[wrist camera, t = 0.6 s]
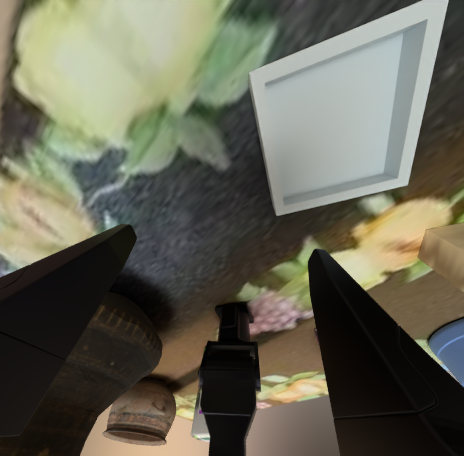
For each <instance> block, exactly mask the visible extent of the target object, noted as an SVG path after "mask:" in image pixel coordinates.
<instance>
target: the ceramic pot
mask: <svg viewBox="0 0 464 456" xmlns="http://www.w3.org/2000/svg"><path fill="white" fill-rule="evenodd" d="M161 355H162V342H161V340H160V338H159V336H158V334H157V332H156V330H155V328H154V326H153V324H152V323H151V321H150V320H149V318H148V317H147V315H146V314H145V313H144V312H143V310H142V309H141V308H140V307H139V306H138V305H136V304H135V303H134V302H133V301H131V300H130V299H128V298H127V297H125V296H122V295H120V294H117V293H112V292H108V293H107V295H106V296H105V298H104V300H103V301H102V303H101V305H100V306H99V308H98V309H97V311H96V313H95V314H94V316H93V318H92V319H91V321H90V322H89V324H88V326H87V327H86V329H85V331H84V332H83V334H82V335H81V337H80V339H79V340H78V342H77V344H76V345H75V347H74V348H73V350H72V352H71V353H70V355H69V357H68V358H67V359H66V362H65V363H64V365H63V367H62V368H61V370H60V372H59V373H58V375H57V376H56V378H55V380H54V381H53V383H52V385H51V386H50V388H49V389H48V391H47V393H46V394H45V396H44V398H43V399H42V401H41V402H40V404H39V406H38V407H37V409H36V411H35V412H34V414H33V416H32V417H31V419H30V420H29V422H28V424H27V425H26V427H25V428H24V430H23V431H22V433H21V434H20V435H19V436H2V437H0V456H80V454H81V451H82V449H83V446H84V444H85V441H86V439H87V437H88V435H89V433H90V431H91V429H92V428H93V426H94V424H95V422H96V420H97V417H98V416H99V415H100V414H101V413H102V412H103V411H104V410H105V409H107V408H108V407H109V406H110V405H111V404H112V403H113V402H114V401H116V400H117V399H118V398H119V397H120V396H121V395H123V394H124V393H125V392H126V391H128V390H130V389H131V388H132V387H133V386H134V385H135V384H136V383H137V382H138V381H139V380H140V379H141V378H143V377H145V376H147V375H149V374H151V372H152V371H153V370H154V369H155V368H156V366H157V365H158V363H159V361H160V358H161Z"/></svg>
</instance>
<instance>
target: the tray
mask: <svg viewBox="0 0 464 456" xmlns="http://www.w3.org/2000/svg"><path fill="white" fill-rule="evenodd" d="M447 5H448V0H423V1H420V2H418V3H415V4H413V5H411V6H408V7H406V8H403V9H401V10H399V11H396V12H394V13H391V14H389V15H386V16H384V17H382V18H379V19H377V20H374V21H372V22H369V23H367V24H365V25H362V26H360V27H357V28H355V29H353V30H350V31H348V32H345V33H343V34H340V35H338V36H336V37H333V38H331V39H328V40H326V41H323V42H321V43H319V44H316V45H314V46H311V47H309V48H307V49H304V50H302V51H299V52H297V53H294V54H292V55H290V56H287V57H285V58H282V59H280V60H277V61H275V62H273V63H270V64H268V65H265V66H263V67H260V68H258V69H256V70H253V71H251V72H249V77H248V84H249V89H250V94H251V99H252V104H253V109H254V114H255V119H256V124H257V129H258V134H259V139H260V144H261V149H262V154H263V159H264V164H265V169H266V175H267V180H268V185H269V190H270V195H271V200H272V205H273V208H274V210H275V213H276V216H279V215H284V214H288V213H292V212H296V211H300V210H305V209H309V208H313V207H317V206H322V205H326V204H330V203H334V202H338V201H343V200H347V199H351V198H355V197H359V196H364V195H368V194H372V193H376V192H381V191H385V190H389V189H393V188H397V187H402V186H406V185H408V181H409V176H410V172H411V167H412V163H413V158H414V154H415V149H416V145H417V140H418V136H419V131H420V127H421V122H422V118H423V113H424V109H425V104H426V100H427V95H428V91H429V86H430V82H431V77H432V73H433V68H434V64H435V59H436V55H437V50H438V46H439V41H440V37H441V32H442V27H443V23H444V18H445V14H446V9H447Z"/></svg>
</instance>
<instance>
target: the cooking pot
mask: <svg viewBox="0 0 464 456" xmlns="http://www.w3.org/2000/svg"><path fill="white" fill-rule="evenodd" d="M175 415H176V402H175V398H174V396H173V394H172V393H171V391H170V390H169V389H168V388H167V387H166V385H165V384H164V382H162V381H161V380H158V379H153V378H148V379H145V380H143V381H141V382H138V383H136V384H135V385H134V386H133V387H132V388H131V389H130V390H128V391H126V392H125V393H124V394H123V395H121V396H120V397H119V398H118V399H117V400H116V401H114V403H113V405H112V407H111V410H110V414H109V418H108V424H107V430H106V431H104V432H103V434H102V435H103V436H104V437H106V438H109V439H112V440H115V441H120V442H125V443H130V444H138V445H151V446H156V445H164V444H166V440H165V437H166V436H167V433H168V432H169V430H170V428H171V425H172V423H173V421H174V418H175Z"/></svg>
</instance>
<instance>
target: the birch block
mask: <svg viewBox="0 0 464 456" xmlns="http://www.w3.org/2000/svg"><path fill="white" fill-rule="evenodd" d="M418 258H419V259H420V260H422V261H423V262H424V263H426V264H427V265H428V266H430V267H431V268H432V269H434V270H435V271H436V272H438V273H439V274H440V275H442V276H443V277H444V278H446V279H447V280H448V281H450V282H451V283H452V284H454V285H455V286H456V287H458V288H459V289H460V290H462V291H463V292H464V223H459V224H453V225H448V226H443V227H437V228H432V229H427V230H426V232H425V235H424V238H423V242H422V245H421V248H420V251H419V254H418Z"/></svg>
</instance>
